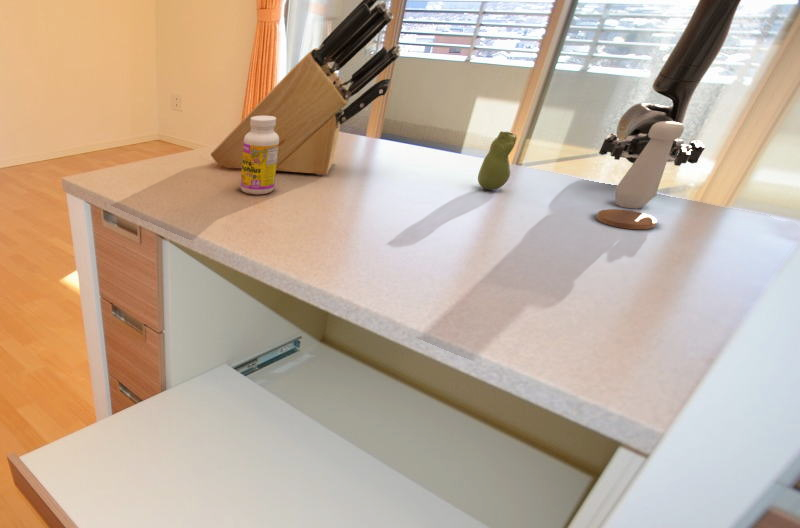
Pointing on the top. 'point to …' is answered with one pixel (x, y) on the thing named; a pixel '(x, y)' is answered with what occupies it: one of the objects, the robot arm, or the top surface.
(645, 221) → the coaster
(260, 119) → the supplement bottle
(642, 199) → the salt shaker
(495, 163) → the pear
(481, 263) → the top surface
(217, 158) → the knife block
